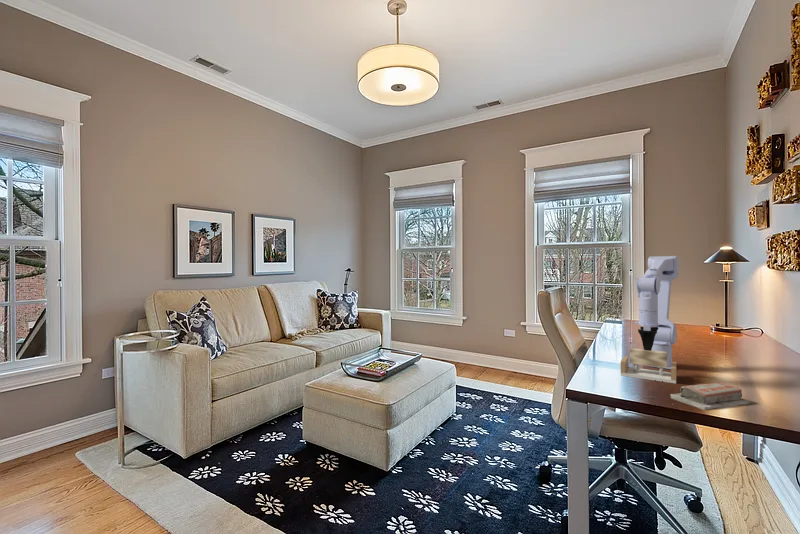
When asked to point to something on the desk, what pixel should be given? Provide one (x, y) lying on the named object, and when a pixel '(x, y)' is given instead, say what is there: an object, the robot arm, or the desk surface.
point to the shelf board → (648, 357)
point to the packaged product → (710, 396)
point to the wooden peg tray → (648, 372)
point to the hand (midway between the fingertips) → (648, 348)
